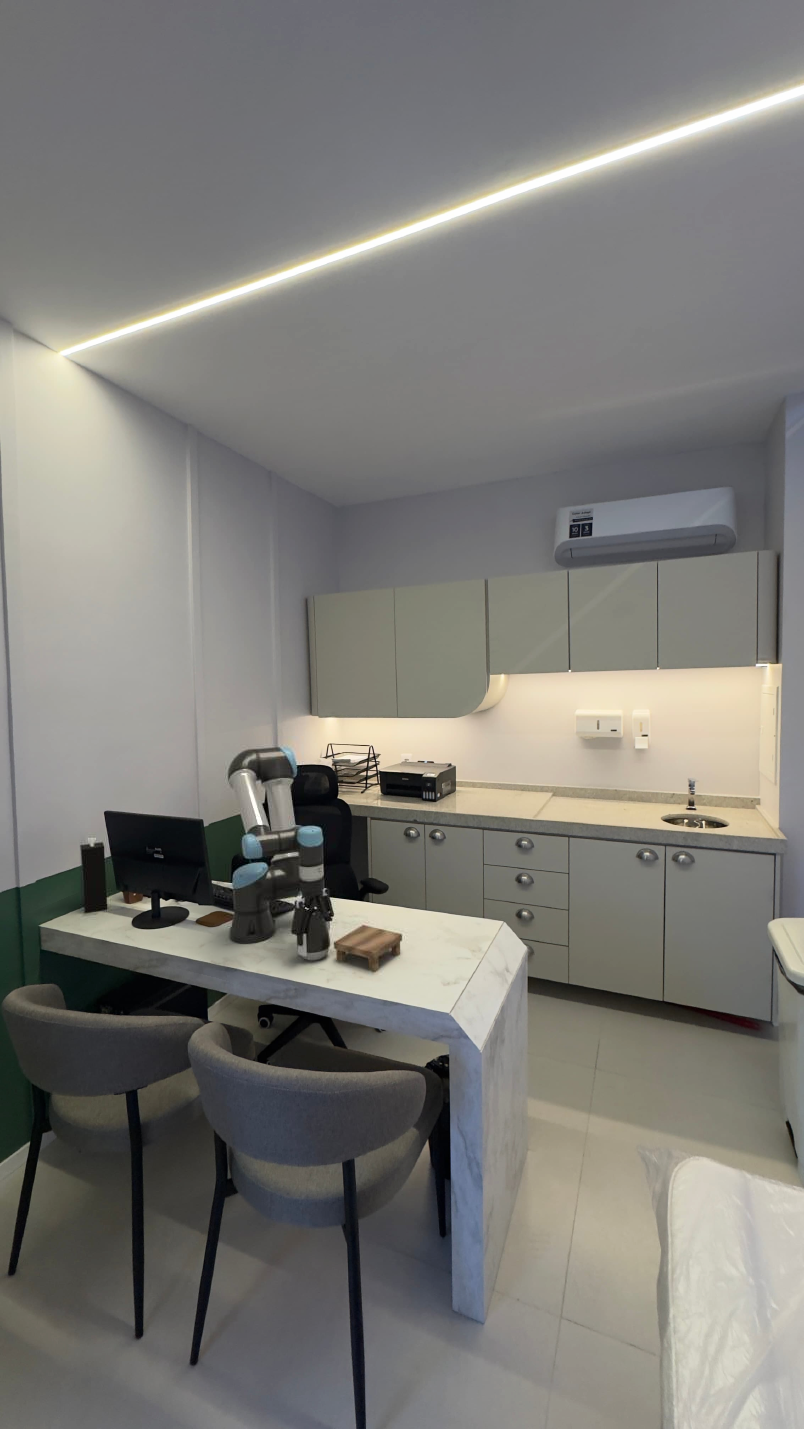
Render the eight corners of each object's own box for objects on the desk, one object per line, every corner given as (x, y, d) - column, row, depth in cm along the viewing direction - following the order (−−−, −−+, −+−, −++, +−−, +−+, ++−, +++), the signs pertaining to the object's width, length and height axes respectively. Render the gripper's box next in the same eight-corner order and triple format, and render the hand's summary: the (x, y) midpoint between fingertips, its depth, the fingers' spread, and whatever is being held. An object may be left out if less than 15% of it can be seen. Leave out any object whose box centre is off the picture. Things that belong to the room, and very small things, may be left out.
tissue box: (107, 909, 234) (103, 837, 232) (84, 913, 230) (80, 841, 228) (106, 903, 241) (102, 833, 239) (83, 907, 237) (79, 836, 235)
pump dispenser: (325, 965, 182) (323, 915, 181) (292, 963, 184) (290, 914, 183) (335, 950, 192) (334, 903, 191) (304, 948, 194) (302, 902, 193)
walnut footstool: (334, 961, 184) (333, 942, 184) (363, 943, 197) (362, 924, 197) (375, 973, 176) (374, 952, 176) (402, 952, 189) (402, 934, 189)
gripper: (295, 890, 175) (298, 965, 176) (344, 869, 194) (346, 937, 195) (276, 886, 179) (279, 960, 180) (325, 866, 198) (328, 932, 199)
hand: (314, 948), depth 188 cm, fingers closed on pump dispenser, 10 cm apart
